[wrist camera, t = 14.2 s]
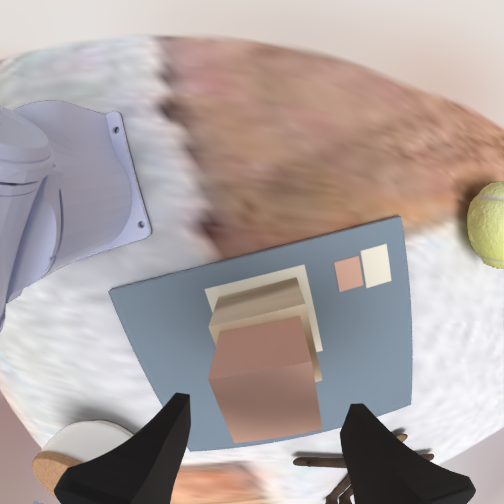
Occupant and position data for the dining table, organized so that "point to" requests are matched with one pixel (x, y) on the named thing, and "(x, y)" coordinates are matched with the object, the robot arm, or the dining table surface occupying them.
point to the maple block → (264, 311)
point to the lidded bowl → (76, 448)
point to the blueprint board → (320, 316)
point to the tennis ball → (488, 224)
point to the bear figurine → (340, 463)
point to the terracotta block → (265, 381)
